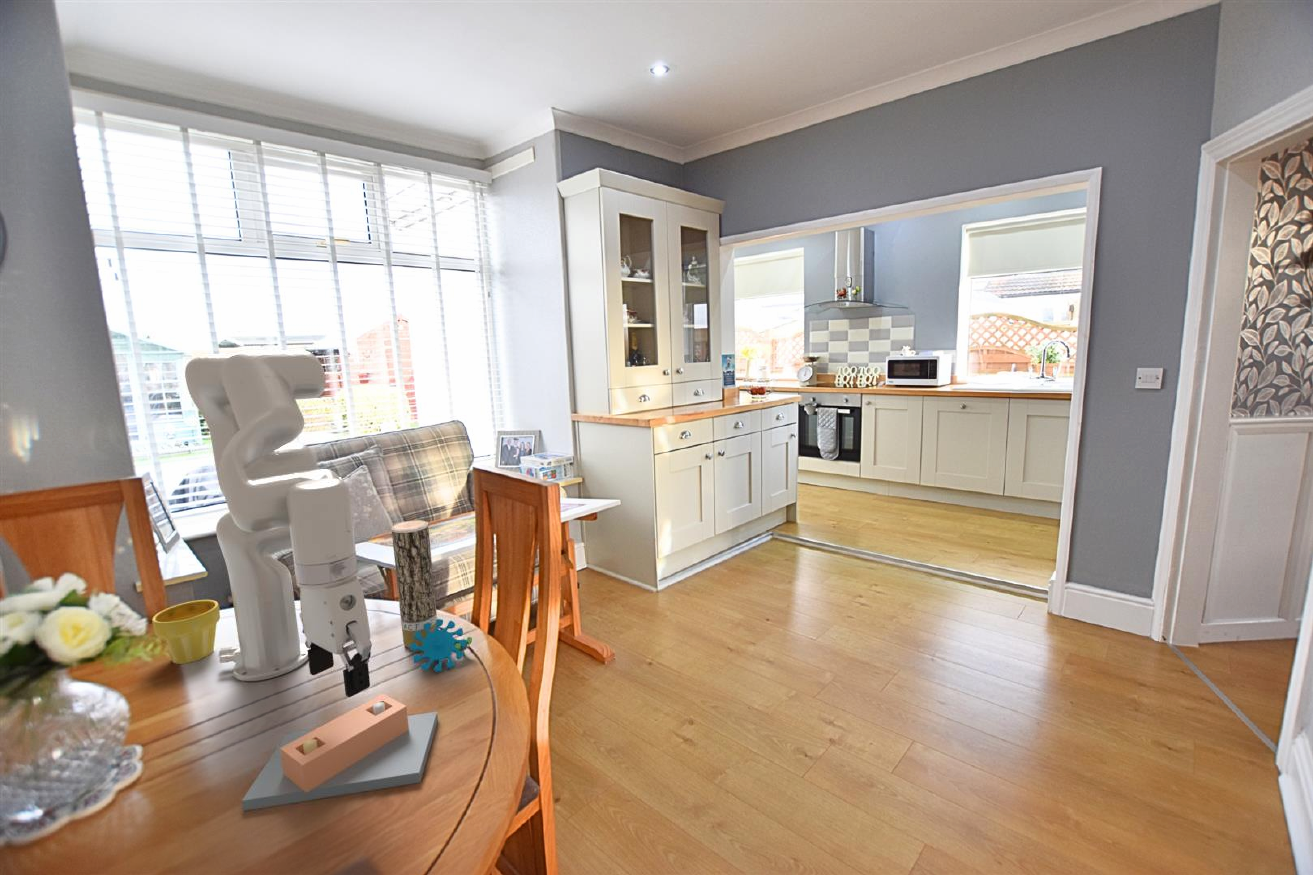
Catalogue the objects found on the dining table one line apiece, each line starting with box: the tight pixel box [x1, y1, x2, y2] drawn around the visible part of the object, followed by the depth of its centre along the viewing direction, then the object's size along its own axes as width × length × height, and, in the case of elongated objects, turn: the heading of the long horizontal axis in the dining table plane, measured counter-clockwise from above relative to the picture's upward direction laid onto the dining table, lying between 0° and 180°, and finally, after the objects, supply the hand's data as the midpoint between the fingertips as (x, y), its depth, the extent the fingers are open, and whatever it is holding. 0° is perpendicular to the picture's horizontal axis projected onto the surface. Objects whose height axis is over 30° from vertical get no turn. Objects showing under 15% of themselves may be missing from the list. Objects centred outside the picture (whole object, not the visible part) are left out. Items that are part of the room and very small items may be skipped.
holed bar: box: [280, 693, 409, 793], centre depth 84 cm, size 15×6×4 cm, turn 146°
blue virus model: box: [409, 618, 473, 673], centre depth 112 cm, size 11×6×10 cm
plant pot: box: [151, 599, 221, 665], centre depth 117 cm, size 10×10×10 cm
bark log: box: [391, 519, 438, 649], centre depth 118 cm, size 7×7×25 cm
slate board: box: [241, 702, 439, 812], centre depth 84 cm, size 22×14×6 cm, turn 101°
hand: (339, 680), depth 83 cm, fingers open, 9 cm apart
